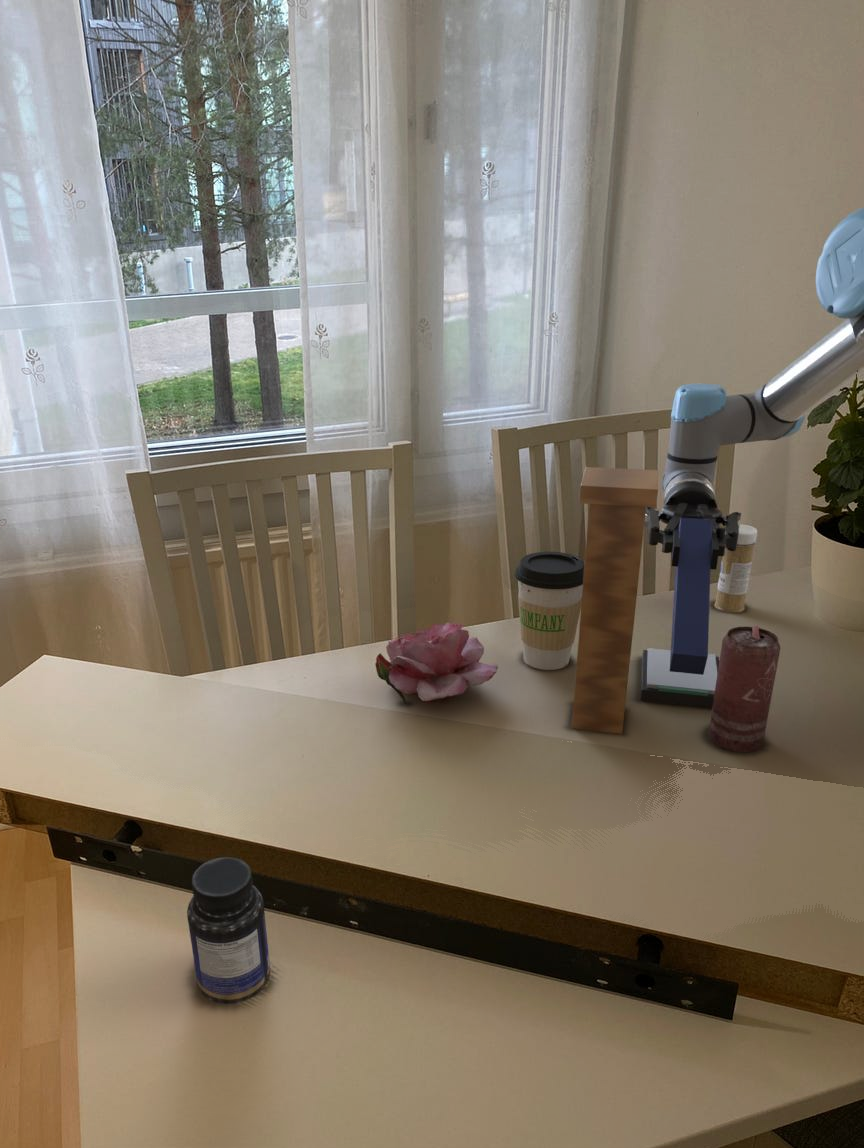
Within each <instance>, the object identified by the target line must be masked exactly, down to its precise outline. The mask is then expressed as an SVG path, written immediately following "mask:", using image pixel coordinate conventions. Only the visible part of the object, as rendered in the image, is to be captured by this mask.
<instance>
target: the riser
mask: <svg viewBox="0 0 864 1148" xmlns="http://www.w3.org/2000/svg"><path fill="white" fill-rule="evenodd" d="M658 494H659V470H658V469H637V468H617V467H597V466H596V467H593V466H585V468H584V472H583V475H582V480H581V483H580V489H579V500H578V501H579V504H582V505H588V514H587V525H586V539H585V552H584V577H583V590H582V602H581V610H580V615H579V628H578V641H577V642H578V643H577V655H576V665H575V666H576V668H575V679H574V680H575V681H574V693H573V705H572V706H573V707H572V710H573V711H572V718H571V719H572V720H571V729H577V730H585V731H593V732H601V733H602V732H603V733H612V734H621V735H622V734H623V729H624V720H625V710H626V702H627V701H626V700H627V692H628V683H629V672H630V663H631V654H632V646H633V645H632V644H633V636H634V628H635V627H634V626H635V616H636V606H637V599H638V588H639V578H640V571H641V570H640V569H641V561H642V560H641V559H642V551H643V540H644V530H645V525H644V523H645V514H646V507H651V508H654V509H657V505H658V496H659V495H658Z"/></svg>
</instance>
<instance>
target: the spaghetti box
mask: <svg viewBox="0 0 864 1148" xmlns="http://www.w3.org/2000/svg"><path fill="white" fill-rule="evenodd" d="M678 531H679V537H680V552H679V560H678V567H675V569H674V570H675V571H674V586H673V587H674V588H673V589H674V590H673V602H672V603H673V604H672V605H673V606H672V619H671V620H672V623H671V637H670V638H671V639H670V640H671V641H670V650H671V654H670V672H680V673H690V674H700V675H703V674H704V670H705V666H706V662H707V658H708V654H709V631H710V630H709V629H710V627H709V626H710V596H711V571H712V569H711V539H712V520H711V519H694V518H680V524H679V530H678Z"/></svg>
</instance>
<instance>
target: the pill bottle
mask: <svg viewBox="0 0 864 1148" xmlns="http://www.w3.org/2000/svg"><path fill="white" fill-rule="evenodd" d="M253 884H254V880H253V875H252V870H251V868H250V866H249V865H248V864H247V863H246V862H245V861H244V860H242V859H240V858H236V857H231V856H229V857H228V856H227V857H226V856H223V857H217V858H213V859H210V860H208V861H206V862H204V863H203V864H201V865H200V866H199V867H197V869H195V871H194V873H193V874H192V876H191V888H192V895H193V896H191V898H190V901H189V902H188V906H187V910H186V913H187V914H186V916H187V923H188V931H189V937H190V942H191V951H192V957H193V964H194V971H195V977H196V981H197V985H198V988H199V991H200V993H201V994H202V995H203V996H204V997H205V998H207V999H208V1000H209V1001H212V1002H214V1003H218V1004H224V1005H228V1004H237V1003H241V1002H244V1001H247V1000H250V999H252V998H253V997H255V996H256V995H258V994H259V993H260V992H261V991H262V990H263V989H264V988H265V986H266V984H267V983H268V981H269V980H270V975H271V963H270V953H269V952H270V951H269V943H268V942H269V941H268V933H267V924H266V923H267V922H266V914H265V901H264V898H263V895H262V893H261V892H260V890H259V889H258V888H257V887H256V886H255V885H253Z"/></svg>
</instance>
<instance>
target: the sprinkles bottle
mask: <svg viewBox="0 0 864 1148" xmlns="http://www.w3.org/2000/svg"><path fill="white" fill-rule="evenodd" d="M725 535H726V531H725ZM757 538H758V529H757V528H756V527H754V526H751V525H748V524H741V523H740V525H739V536H738V542H737V549H736V551H729V550H727V548H726V549H725V555H724V556H722V559H721V562H720V571H719V577H718V583H717V592H716V598H715V602H714V607H715V609H717V610H719V611H721V612H724V613H741V612H743V611H745V602H746V596H747V593H748V587H749V581H750V576H751V571H752V570H751V569H752V563H753V554H754V548H755V544H756V542H757Z"/></svg>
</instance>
